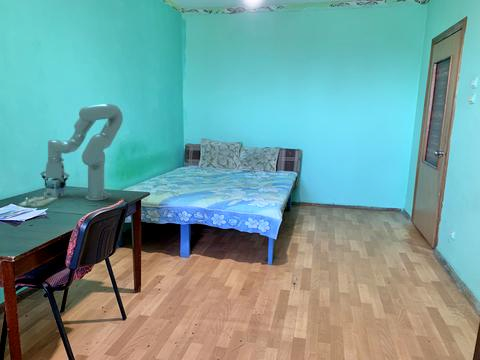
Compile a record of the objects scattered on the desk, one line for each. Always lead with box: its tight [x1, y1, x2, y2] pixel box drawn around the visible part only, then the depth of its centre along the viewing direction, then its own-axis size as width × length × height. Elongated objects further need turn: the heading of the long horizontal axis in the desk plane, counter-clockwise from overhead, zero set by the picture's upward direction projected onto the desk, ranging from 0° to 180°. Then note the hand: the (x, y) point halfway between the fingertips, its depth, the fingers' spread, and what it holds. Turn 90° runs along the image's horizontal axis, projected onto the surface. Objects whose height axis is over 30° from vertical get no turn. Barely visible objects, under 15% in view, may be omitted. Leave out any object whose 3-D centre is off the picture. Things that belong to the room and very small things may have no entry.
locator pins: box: [25, 191, 47, 205], centre depth 213 cm, size 6×16×4 cm, turn 0°
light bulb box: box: [45, 178, 67, 199], centre depth 230 cm, size 11×7×11 cm, turn 171°
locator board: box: [17, 196, 59, 208], centre depth 214 cm, size 14×18×1 cm
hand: (55, 187), depth 229 cm, fingers open, 9 cm apart
